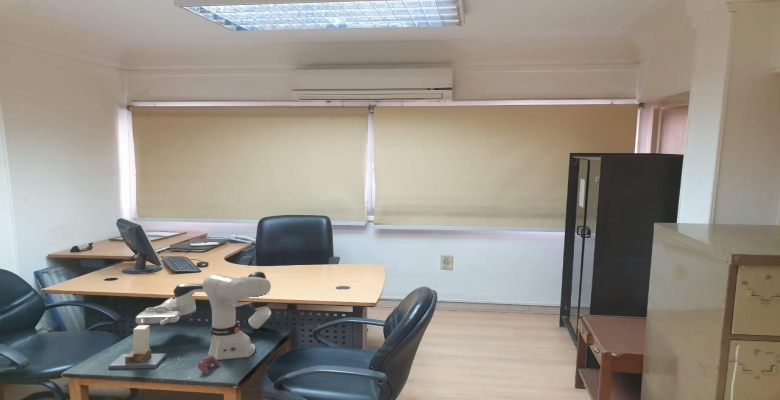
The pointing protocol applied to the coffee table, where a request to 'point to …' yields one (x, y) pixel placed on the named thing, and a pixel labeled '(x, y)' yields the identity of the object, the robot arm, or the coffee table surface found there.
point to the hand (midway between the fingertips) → (151, 323)
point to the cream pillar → (141, 339)
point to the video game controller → (207, 363)
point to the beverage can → (259, 317)
